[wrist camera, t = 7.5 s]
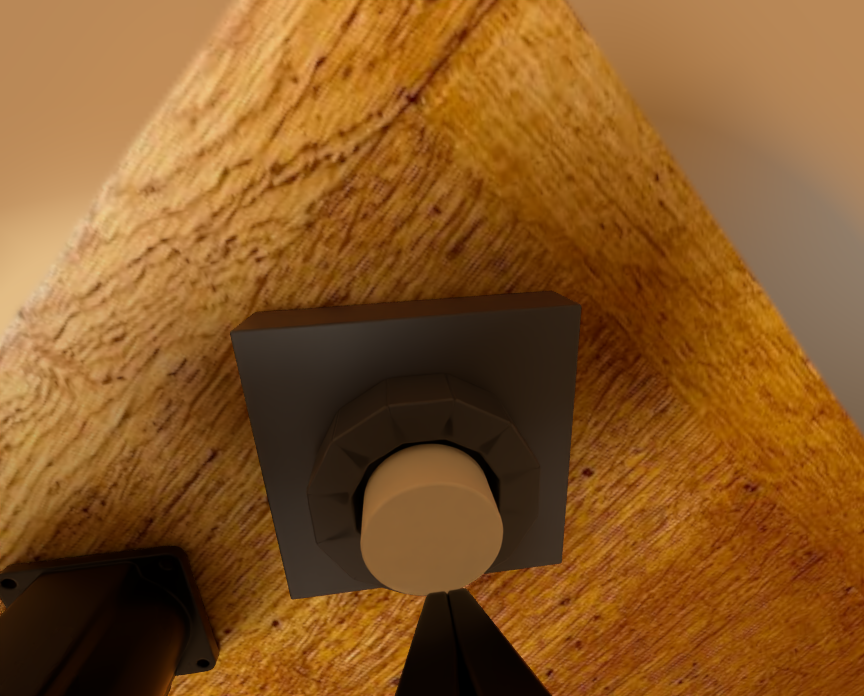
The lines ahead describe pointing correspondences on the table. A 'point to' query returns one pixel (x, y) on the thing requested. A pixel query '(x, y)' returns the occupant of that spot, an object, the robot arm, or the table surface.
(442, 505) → the button
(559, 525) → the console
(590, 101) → the table surface
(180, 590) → the robot arm
